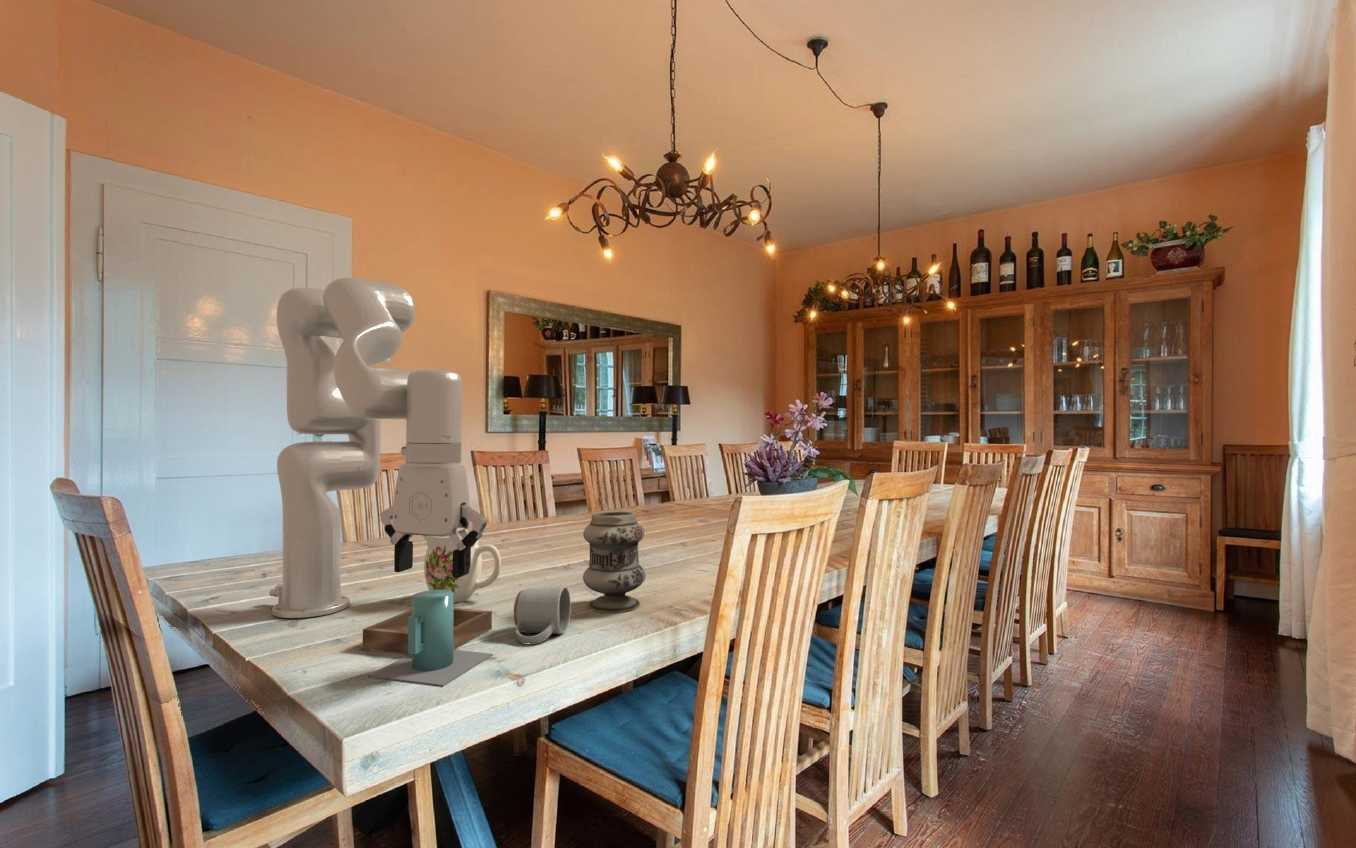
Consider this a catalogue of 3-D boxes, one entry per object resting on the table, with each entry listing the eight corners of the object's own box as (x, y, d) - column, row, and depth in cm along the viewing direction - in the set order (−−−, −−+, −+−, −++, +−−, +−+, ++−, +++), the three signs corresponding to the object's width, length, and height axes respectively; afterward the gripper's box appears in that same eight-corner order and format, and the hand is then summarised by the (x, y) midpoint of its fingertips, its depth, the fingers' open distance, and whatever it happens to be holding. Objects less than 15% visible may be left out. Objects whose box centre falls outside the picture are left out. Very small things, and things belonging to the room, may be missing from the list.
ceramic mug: (525, 624, 111) (525, 580, 111) (571, 625, 110) (571, 581, 110) (504, 645, 100) (503, 597, 100) (554, 647, 100) (554, 598, 100)
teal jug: (428, 655, 95) (428, 588, 95) (461, 658, 94) (461, 590, 94) (394, 673, 88) (394, 601, 88) (429, 677, 86) (429, 604, 86)
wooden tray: (362, 648, 98) (362, 629, 98) (421, 622, 112) (421, 605, 112) (440, 657, 95) (440, 637, 95) (491, 629, 108) (491, 611, 108)
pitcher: (488, 608, 120) (488, 536, 120) (400, 604, 123) (401, 533, 123) (511, 593, 131) (511, 527, 131) (430, 590, 134) (430, 525, 134)
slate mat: (368, 676, 87) (368, 675, 87) (424, 647, 99) (424, 646, 99) (443, 686, 84) (443, 684, 84) (492, 655, 96) (492, 653, 96)
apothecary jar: (611, 594, 131) (611, 507, 131) (657, 603, 124) (658, 511, 124) (569, 607, 121) (569, 513, 121) (617, 618, 114) (617, 519, 114)
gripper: (365, 454, 90) (363, 574, 91) (471, 459, 86) (468, 584, 86) (401, 452, 98) (399, 562, 98) (500, 456, 93) (498, 572, 93)
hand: (431, 573), depth 92 cm, fingers open, 9 cm apart
